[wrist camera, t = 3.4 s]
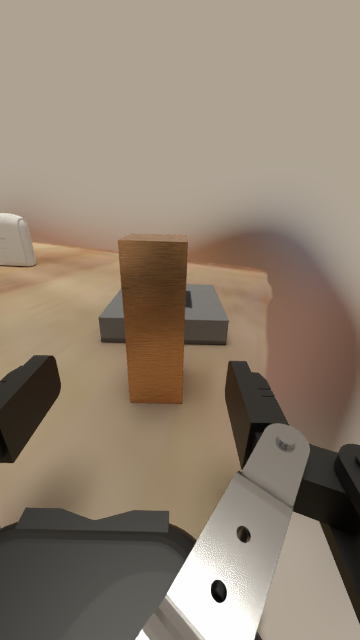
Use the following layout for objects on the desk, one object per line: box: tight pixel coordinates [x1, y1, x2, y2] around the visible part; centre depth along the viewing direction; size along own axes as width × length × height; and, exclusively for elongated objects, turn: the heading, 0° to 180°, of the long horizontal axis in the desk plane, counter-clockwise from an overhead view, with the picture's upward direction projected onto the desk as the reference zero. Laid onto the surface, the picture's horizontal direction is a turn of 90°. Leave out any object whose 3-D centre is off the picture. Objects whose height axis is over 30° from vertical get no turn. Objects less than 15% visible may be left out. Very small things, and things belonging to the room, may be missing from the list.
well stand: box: [99, 284, 229, 345], centre depth 33 cm, size 14×14×3 cm
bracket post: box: [118, 234, 188, 403], centre depth 18 cm, size 4×4×12 cm
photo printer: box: [0, 213, 36, 266], centre depth 60 cm, size 10×4×12 cm, turn 83°
